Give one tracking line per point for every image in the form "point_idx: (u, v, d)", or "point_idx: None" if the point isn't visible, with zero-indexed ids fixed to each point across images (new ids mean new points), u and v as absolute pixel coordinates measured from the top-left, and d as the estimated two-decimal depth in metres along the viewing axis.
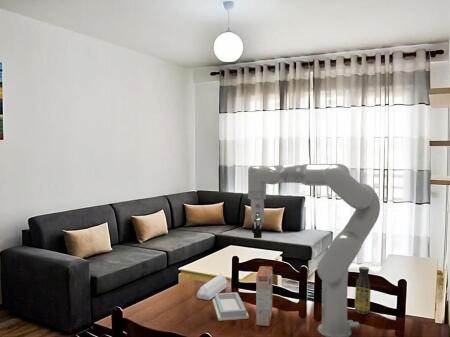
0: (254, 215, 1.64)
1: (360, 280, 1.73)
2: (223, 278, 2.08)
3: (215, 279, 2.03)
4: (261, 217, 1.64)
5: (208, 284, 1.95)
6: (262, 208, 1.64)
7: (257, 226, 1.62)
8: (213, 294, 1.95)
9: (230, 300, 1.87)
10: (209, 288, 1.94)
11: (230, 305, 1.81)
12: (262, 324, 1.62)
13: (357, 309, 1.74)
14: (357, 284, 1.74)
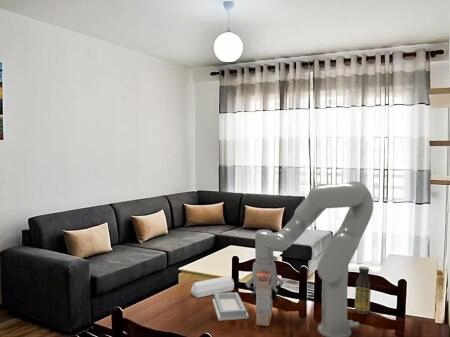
0: (276, 279, 1.67)
1: (360, 280, 1.73)
2: (229, 281, 2.04)
3: (216, 280, 2.02)
4: None
5: (202, 283, 1.98)
6: None
7: None
8: (205, 293, 1.96)
9: (230, 300, 1.87)
10: (201, 287, 1.96)
11: (230, 305, 1.81)
12: (262, 324, 1.62)
13: (357, 309, 1.74)
14: (357, 284, 1.74)
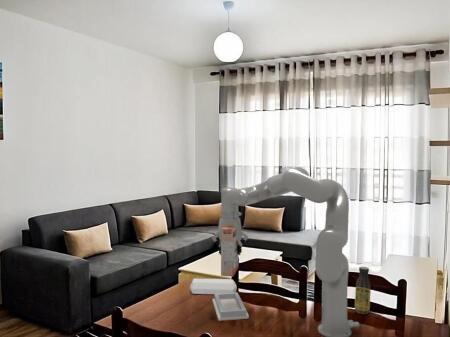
0: (241, 234, 1.77)
1: (360, 280, 1.73)
2: (229, 284, 1.99)
3: (216, 280, 2.01)
4: None
5: (200, 280, 2.01)
6: None
7: None
8: (199, 291, 1.99)
9: (230, 300, 1.87)
10: (197, 284, 2.00)
11: (230, 305, 1.81)
12: (226, 274, 1.72)
13: (357, 309, 1.74)
14: (357, 284, 1.74)
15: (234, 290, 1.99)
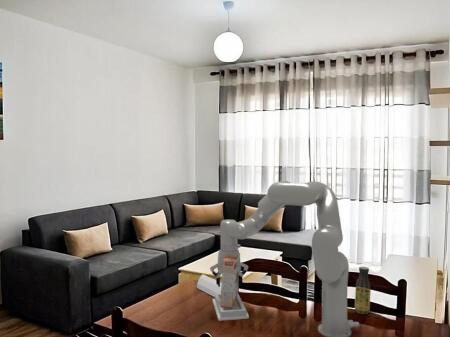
0: (240, 265, 1.78)
1: (360, 280, 1.73)
2: (219, 288, 1.93)
3: (213, 281, 2.00)
4: None
5: (204, 277, 2.06)
6: None
7: None
8: (200, 287, 2.05)
9: None
10: (201, 280, 2.06)
11: None
12: (226, 305, 1.73)
13: (357, 309, 1.74)
14: (357, 284, 1.74)
15: None
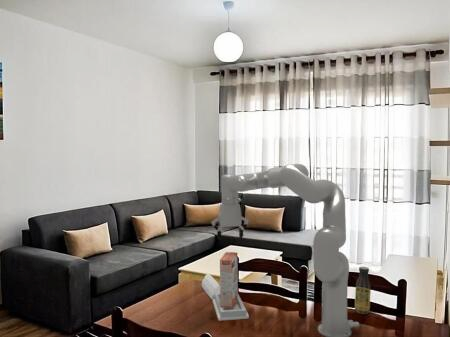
0: None
1: (360, 280, 1.73)
2: (214, 288, 1.93)
3: (212, 281, 2.00)
4: None
5: (207, 277, 2.07)
6: None
7: None
8: (203, 286, 2.06)
9: None
10: (205, 279, 2.08)
11: None
12: (226, 305, 1.73)
13: (357, 309, 1.74)
14: (357, 284, 1.74)
15: None
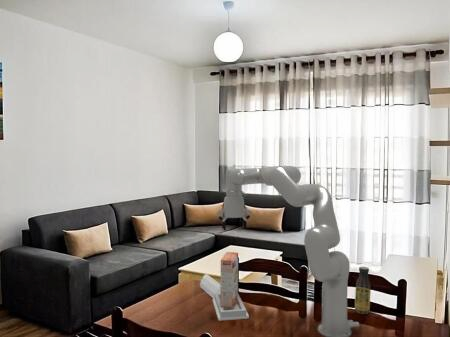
0: (244, 210, 1.93)
1: (360, 280, 1.73)
2: (216, 288, 1.93)
3: (213, 281, 2.00)
4: None
5: (206, 277, 2.07)
6: None
7: None
8: (202, 286, 2.06)
9: None
10: (204, 279, 2.07)
11: None
12: (226, 305, 1.73)
13: (357, 309, 1.74)
14: (357, 284, 1.74)
15: None
